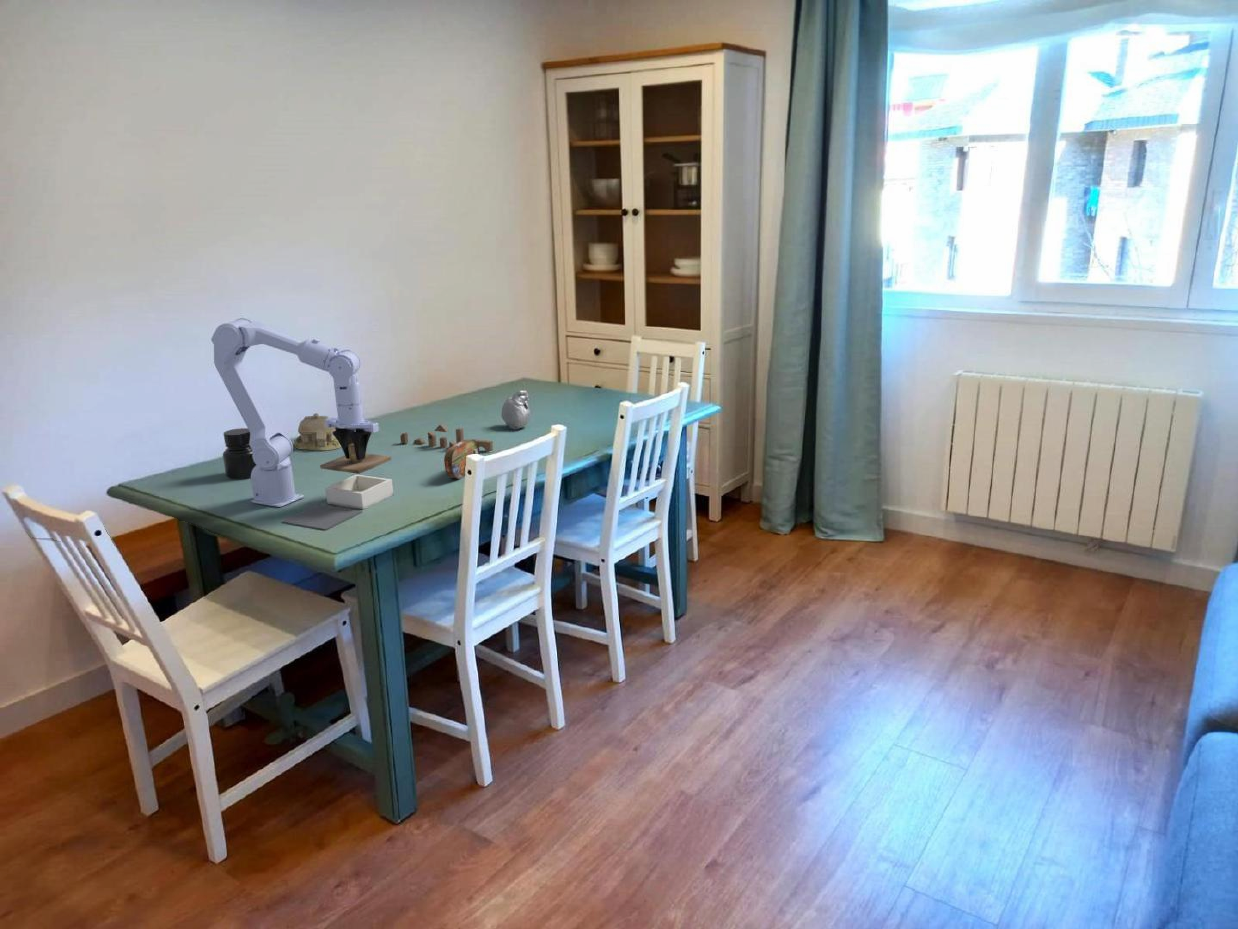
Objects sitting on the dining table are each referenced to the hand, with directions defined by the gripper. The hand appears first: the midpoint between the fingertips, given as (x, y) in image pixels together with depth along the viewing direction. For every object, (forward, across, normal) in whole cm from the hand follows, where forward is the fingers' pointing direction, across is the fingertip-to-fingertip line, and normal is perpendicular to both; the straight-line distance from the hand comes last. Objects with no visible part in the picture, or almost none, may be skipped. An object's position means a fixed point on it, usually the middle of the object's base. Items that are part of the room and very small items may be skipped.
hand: (355, 458), depth 207 cm
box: (+10, 0, 0) cm, 10 cm away
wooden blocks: (+11, -7, +45) cm, 47 cm away
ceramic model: (+11, -44, +33) cm, 56 cm away
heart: (+11, +1, +71) cm, 72 cm away
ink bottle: (+11, -43, +4) cm, 44 cm away
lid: (+1, 0, 0) cm, 1 cm away
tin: (+11, +12, +26) cm, 31 cm away
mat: (+10, 0, -13) cm, 17 cm away
